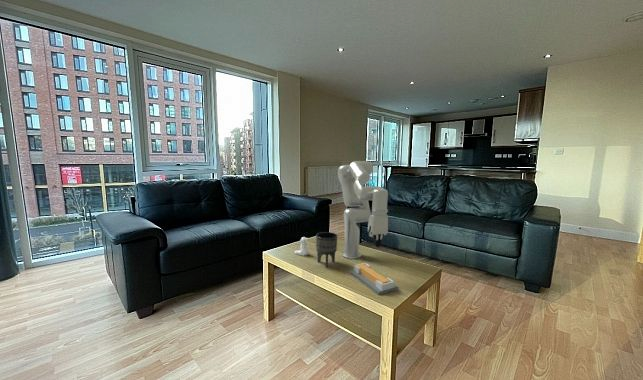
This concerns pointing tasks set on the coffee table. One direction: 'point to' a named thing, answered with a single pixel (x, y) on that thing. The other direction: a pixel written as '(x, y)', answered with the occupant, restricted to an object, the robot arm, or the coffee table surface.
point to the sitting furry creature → (303, 247)
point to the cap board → (378, 287)
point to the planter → (326, 245)
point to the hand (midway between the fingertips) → (377, 246)
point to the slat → (371, 274)
